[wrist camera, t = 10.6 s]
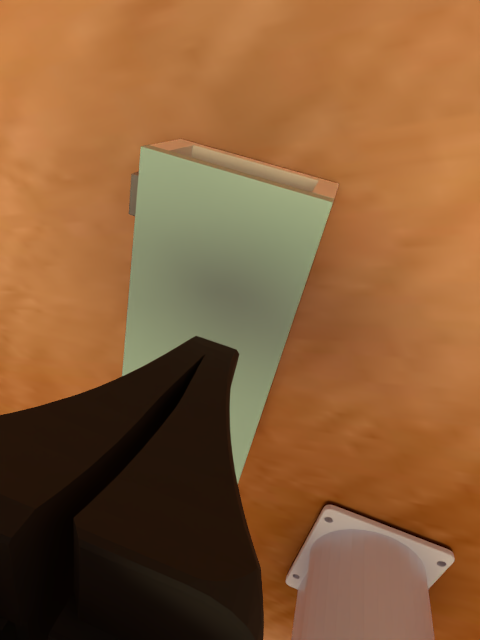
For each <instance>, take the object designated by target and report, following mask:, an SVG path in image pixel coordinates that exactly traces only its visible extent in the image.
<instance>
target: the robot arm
mask: <svg viewBox="0 0 480 640" xmlns="http://www.w3.org/2000/svg"><path fill="white" fill-rule="evenodd" d="M238 358H239V353H238V351H237V349H234V348H231V347H228V346H225V345H222V344H219V343H216V342H213V341H210V340H207V339H205V338H202V337H199V336H195V337H193V338H191V339H189V340H188V341H186V342H184V343H183V344H181V345H179V346H178V347H176V348H174V349H173V350H171V351H169V352H168V353H166V354H164V355H162V356H161V357H159V358H157V359H155V360H153V361H152V362H150V363H148V364H146V365H144V366H142V367H140V368H138V369H136V370H134V371H132V372H130V373H128V374H126V375H124V376H122V377H120V378H118V379H116V380H113V381H111V382H109V383H106V384H104V385H102V386H99V387H97V388H94V389H91V390H89V391H86V392H83V393H81V394H78V395H75V396H72V397H68V398H65V399H61V400H58V401H55V402H51V403H48V404H45V405H41V406H38V407H34V408H30V409H26V410H22V411H18V412H13V413H9V414H4V415H0V640H263V629H264V614H263V594H262V581H261V568H260V564H259V561H258V558H257V555H256V552H255V549H254V546H253V543H252V540H251V536H250V533H249V530H248V526H247V522H246V519H245V515H244V511H243V507H242V503H241V498H240V493H239V488H238V483H237V479H236V474H235V468H234V461H233V454H232V445H231V433H230V390H231V385H232V381H233V377H234V373H235V369H236V366H237V362H238ZM454 561H455V559H454V554H453V552H452V551H450V550H449V549H446V548H444V547H441V546H439V545H436V544H433V543H431V542H428V541H426V540H423V539H420V538H418V537H415V536H413V535H410V534H407V533H405V532H402V531H400V530H397V529H394V528H392V527H389V526H387V525H384V524H381V523H379V522H376V521H374V520H371V519H368V518H366V517H363V516H361V515H358V514H355V513H353V512H350V511H348V510H345V509H342V508H340V507H337V506H335V505H326V506H324V508H323V510H322V511H321V513H320V515H319V517H318V519H317V521H316V522H315V524H314V526H313V528H312V530H311V532H310V534H309V535H308V537H307V539H306V541H305V543H304V545H303V546H302V548H301V550H300V552H299V554H298V556H297V558H296V559H295V561H294V563H293V565H292V567H291V569H290V570H289V572H288V574H287V576H286V583H287V585H289V586H290V587H293V588H295V589H298V594H297V602H296V609H295V616H294V623H293V631H292V638H291V640H435V638H434V630H433V623H432V615H431V607H430V600H429V592H428V589H429V588H430V587H431V586H432V585H433V584H434V583H435V582H436V581H437V579H438V578H439V577H440V576H441V575H442V574H443V573H444V572H445V571H446V570H447V569H448V568H449V567H450V566H451V564H452V563H453V562H454Z"/></svg>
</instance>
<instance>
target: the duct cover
mask: <svg viewBox="0 0 480 640" xmlns="http://www.w3.org/2000/svg"><path fill="white" fill-rule="evenodd" d="M333 201H334V199H333V198H329V197H326V196H322V195H319V194H316V193H312V192H309V191H305V190H302V189H298V188H295V187H292V186H288V185H285V184H281V183H278V182H274V181H271V180H268V179H264V178H261V177H257V176H254V175H250V174H247V173H244V172H240V171H237V170H233V169H230V168H226V167H223V166H220V165H216V164H213V163H209V162H206V161H202V160H199V159H196V158H192V157H189V156H185V155H182V154H178V153H175V152H172V151H168V150H165V149H161V148H158V147H154V146H151V145H145V146H141V152H140V164H139V176H138V188H137V200H136V213H135V225H134V237H133V249H132V261H131V274H130V286H129V298H128V310H127V323H126V335H125V347H124V359H123V371H122V376H124V375H126V374H128V373H130V372H132V371H134V370H136V369H138V368H140V367H142V366H144V365H146V364H148V363H150V362H152V361H153V360H155V359H157V358H159V357H161V356H162V355H164V354H166V353H168V352H169V351H171V350H173V349H174V348H176V347H178V346H179V345H181V344H183V343H184V342H186V341H188V340H189V339H191V338H193V337H195V336H199V337H202V338H205V339H207V340H210V341H213V342H216V343H219V344H222V345H225V346H228V347H231V348H234V349H237V351H238V353H239V358H238V362H237V366H236V369H235V373H234V377H233V381H232V385H231V390H230V433H231V445H232V454H233V461H234V468H235V474H236V479H237V483H238V482H239V479H240V476H241V473H242V470H243V467H244V464H245V461H246V458H247V455H248V452H249V449H250V446H251V443H252V441H253V438H254V435H255V432H256V429H257V426H258V423H259V420H260V417H261V414H262V411H263V408H264V405H265V402H266V399H267V396H268V393H269V390H270V387H271V384H272V381H273V378H274V375H275V373H276V370H277V367H278V364H279V361H280V358H281V355H282V352H283V349H284V346H285V343H286V340H287V337H288V334H289V331H290V328H291V325H292V322H293V319H294V316H295V313H296V310H297V308H298V305H299V302H300V299H301V296H302V293H303V290H304V287H305V284H306V281H307V278H308V275H309V272H310V269H311V266H312V263H313V260H314V257H315V254H316V251H317V248H318V245H319V243H320V240H321V237H322V234H323V231H324V228H325V225H326V222H327V219H328V216H329V213H330V210H331V207H332V204H333Z"/></svg>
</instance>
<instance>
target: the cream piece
mask: <svg viewBox="0 0 480 640" xmlns="http://www.w3.org/2000/svg"><path fill="white" fill-rule="evenodd" d="M151 146H154V147H158V148H161V149H165V150H168V151H172V152H175V153H178V154H182V155H185V156H189V157H192V158H196V159H199V160H202V161H206V162H209V163H213V164H216V165H220V166H223V167H226V168H230V169H233V170H237V171H240V172H244V173H247V174H250V175H254V176H257V177H261V178H264V179H268V180H271V181H274V182H278V183H281V184H285V185H288V186H292V187H295V188H298V189H302V190H305V191H309V192H312V193H316V194H319V195H322V196H326V197H329V198H333V199H334V198H335V195H336V192H337V189H338V186H339V183H335V182H332V181H328V180H325V179H321V178H317V177H314V176H310V175H307V174H303V173H300V172H296V171H293V170H289V169H286V168H282V167H279V166H275V165H272V164H268V163H265V162H261V161H257V160H254V159H250V158H247V157H243V156H240V155H236V154H233V153H229V152H226V151H222V150H219V149H215V148H212V147H208V146H205V145H201V144H198V143H194V142H190V141H187V140H183V139H177V140H172V141H167V142H161V143H156V144H151ZM138 176H139V172H136V173H133V174H132V176H131V190H130V203H129V214H130V215H133V216H135V213H136V200H137V188H138ZM318 246H319V245H318ZM317 249H318V248H317ZM296 311H297V310H296ZM295 314H296V313H295ZM274 376H275V375H274ZM273 379H274V378H273ZM251 444H252V443H251Z"/></svg>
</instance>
